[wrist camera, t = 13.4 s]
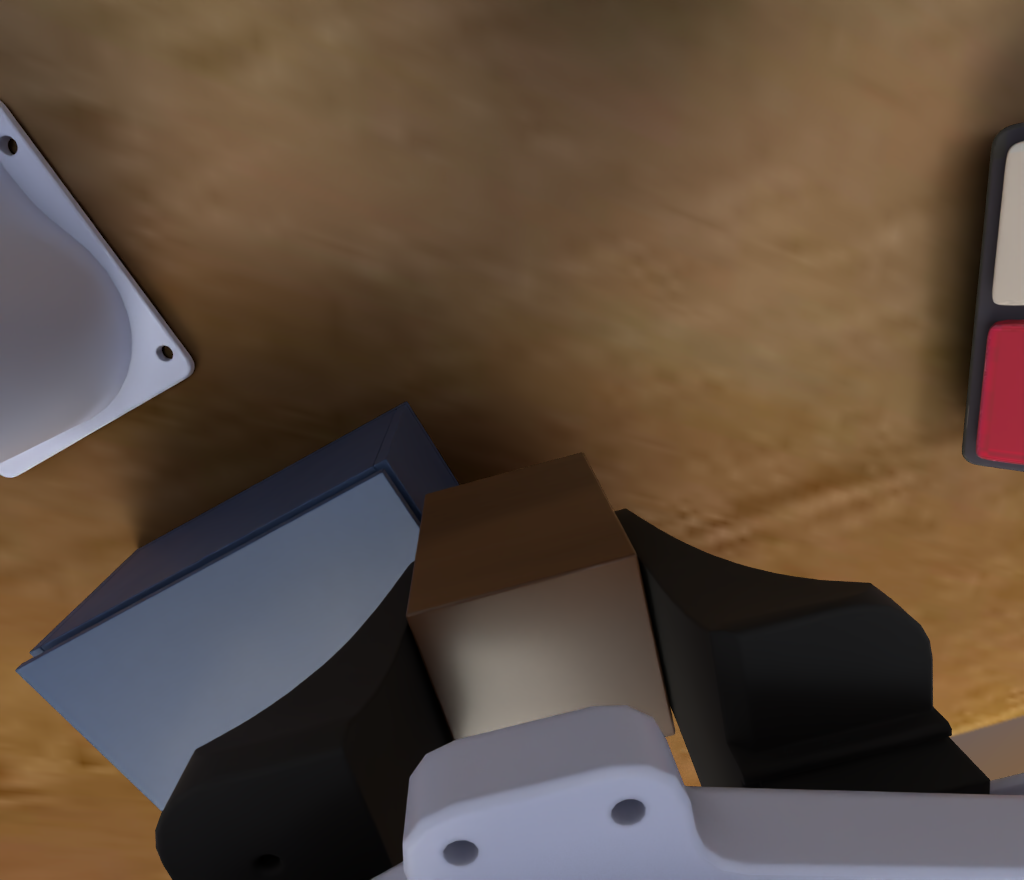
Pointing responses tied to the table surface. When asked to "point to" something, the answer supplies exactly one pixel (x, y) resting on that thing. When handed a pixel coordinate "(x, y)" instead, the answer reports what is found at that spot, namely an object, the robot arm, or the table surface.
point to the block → (532, 602)
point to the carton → (239, 602)
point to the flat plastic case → (999, 316)
